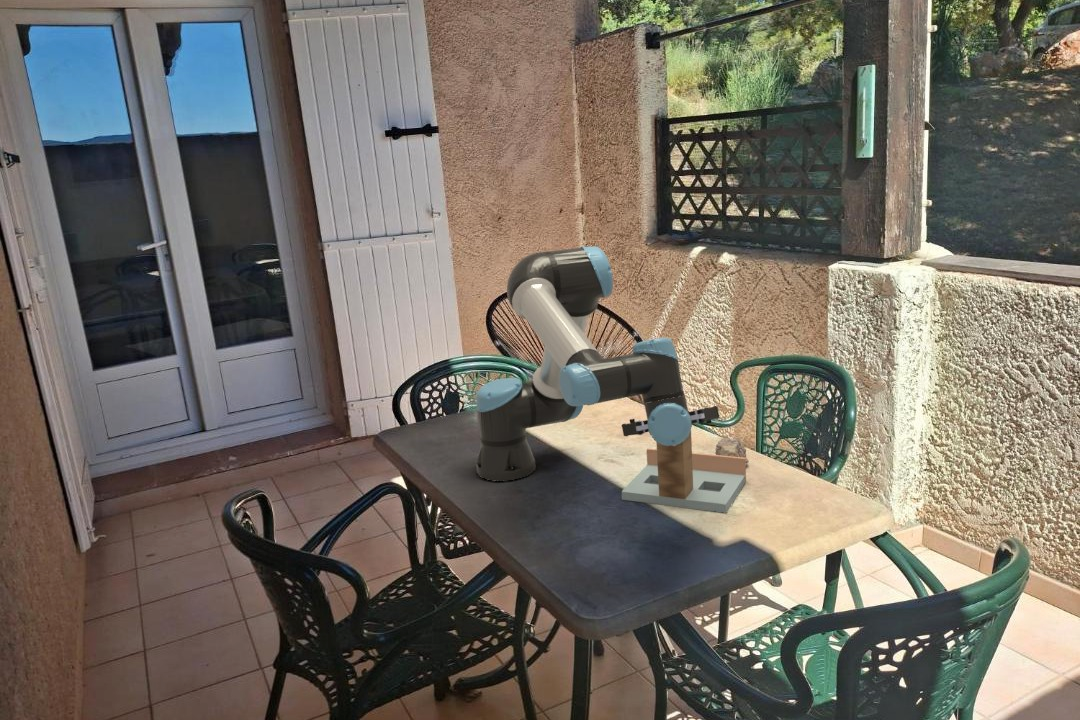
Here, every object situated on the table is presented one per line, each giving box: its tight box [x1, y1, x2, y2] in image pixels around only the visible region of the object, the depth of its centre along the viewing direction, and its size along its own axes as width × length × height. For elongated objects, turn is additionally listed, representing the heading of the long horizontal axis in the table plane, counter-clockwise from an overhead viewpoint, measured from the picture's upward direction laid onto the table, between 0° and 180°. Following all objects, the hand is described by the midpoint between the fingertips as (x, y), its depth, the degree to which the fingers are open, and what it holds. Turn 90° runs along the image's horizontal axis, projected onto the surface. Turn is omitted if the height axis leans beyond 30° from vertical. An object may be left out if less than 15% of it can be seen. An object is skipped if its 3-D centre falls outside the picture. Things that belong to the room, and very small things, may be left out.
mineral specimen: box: [714, 437, 749, 464], centre depth 200 cm, size 13×7×6 cm, turn 4°
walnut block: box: [655, 431, 693, 499], centre depth 181 cm, size 6×6×16 cm
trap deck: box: [621, 447, 747, 514], centre depth 188 cm, size 24×18×6 cm
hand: (670, 420), depth 179 cm, fingers open, 13 cm apart
